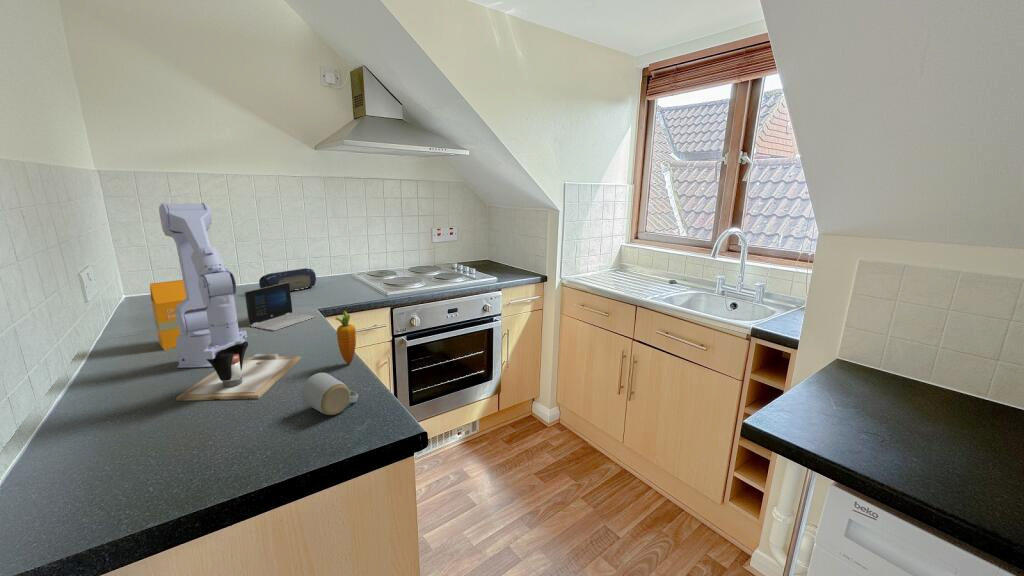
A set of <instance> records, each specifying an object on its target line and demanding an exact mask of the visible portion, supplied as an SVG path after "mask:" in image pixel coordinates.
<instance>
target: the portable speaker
mask: <svg viewBox="0 0 1024 576" xmlns="http://www.w3.org/2000/svg"><path fill="white" fill-rule="evenodd" d="M316 281H317V275H316V272H315V271H314V269H311V268H307V267H306V268H299V269H291V270H286V271H284V270H283V271H278V272H271V273H268V274H267V273H266V274H265V275H262V276H261V277H260V278H259V281H258V283H259V289H260V288H265V287H269V286H274V285H278V284H283V283H288V282H289V285H290V290H295V289H301V288H306V287H311V286H313V287H315V285H316ZM311 288H312V287H311Z"/></svg>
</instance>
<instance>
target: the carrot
mask: <svg viewBox="0 0 1024 576" xmlns="http://www.w3.org/2000/svg"><path fill="white" fill-rule="evenodd" d="M342 315H343V316H342V317H341V318H340V317H337V316H336V317H335V320H337V321H338V322H339V323H340V324H341V325H339V326H338V327H337V329H336V337H337V345H338V348H339V351H340V354H341V357H342V359H343V360H344V362H345V363H346V364H348V365H350V364H351V363H352V361H353V359H354V356H355V352H356V347H357V334H356V333H357V331H356V330H357V329H356V326H355V325H354V324H353V325H352V324H350V319H351V314H348V312H347V311H343V312H342Z"/></svg>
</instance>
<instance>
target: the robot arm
mask: <svg viewBox="0 0 1024 576" xmlns="http://www.w3.org/2000/svg"><path fill="white" fill-rule="evenodd" d="M209 206H210V205H208V204H207V203H206V202H201V203H163V202H162V203H161V204H160V205H159V206H158V207H159V209H158V211H159V212H158V213H159V220H160V224H161V228H162V232H163V233H164V236H166V237H170V238H172V239H173V241H174V243H175V244H176V250H177V256H178V261H179V266H180V267H179V268H180V272H181V277H182V280H183V283H184V288H185V293H186V298H185V299H184V300H183V301H182V302H181V303H179V304H178V305H177V306H176V309H175V310H176V322H177V326H178V329H179V332H180V333H181V334H180V335H179V336H178V337H177V340H176V348H175V349H176V354H177V359H178V365H177V368H179V369H181V368H184V369H185V368H210V367H211V368H213V369H214V370H215V371H216V372H217V374H218V376H219V378H220V380H221V381H227V380H231V376H232V371H231V364H232V359H233V355H234V353H237V354H239V359H240V368H241V371H242V364H243V358H244V357H245V353H246V351H247V348H248V346H249V342H248V341H246V339H247V338H248V333H247V330H244V329H243V330H242V329H241V330H239V329H240V328H239V323H238V316H237V308H236V301H235V295H237V294H236V293H237V282H236V279H235V276H234V273H233V272H232V271H231V269H230V268H228V267H226V265H225V263H224V260H223V259H222V256H221V254H220V252H219V250H218V249H216V248H215V247H212V245H211V242H210V239H209V234H208V231H209V229H210V227H211V225H212V223H213V222H212V221H213V220H212V212H211V209H210V207H209ZM190 309H193V310H190ZM187 310H188V311H187ZM215 371H214V372H215Z"/></svg>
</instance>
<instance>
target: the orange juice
mask: <svg viewBox="0 0 1024 576" xmlns="http://www.w3.org/2000/svg"><path fill="white" fill-rule="evenodd" d="M149 290H150V301H151V303H150V304H151V307H152V313H153V317H154V318H153V319H154V325H155V328H156V334H157V338H158V344H159V346H160V345H161V346H162V347H161V346H160V347H161V349H162V348H163V349H164V350H163V349H162V350H163V351H166V350H165V349H168V350H171V349H170V348H173V349H175V348H174V347H176V340H177V337H178V336H179V335H180V334H181V333H180V332H179V329H178V326H177V322H176V310H175V309H176V306H177V305H178V304H179V303H181V302H182V301H183V300H184V299H185V298H186V293H185V288H184V283H183V279H179V280H170V281H162V282H161V281H160V282H154V283H153V282H152V283H150V284H149ZM190 310H194V309H190ZM187 311H188V310H187Z"/></svg>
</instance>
